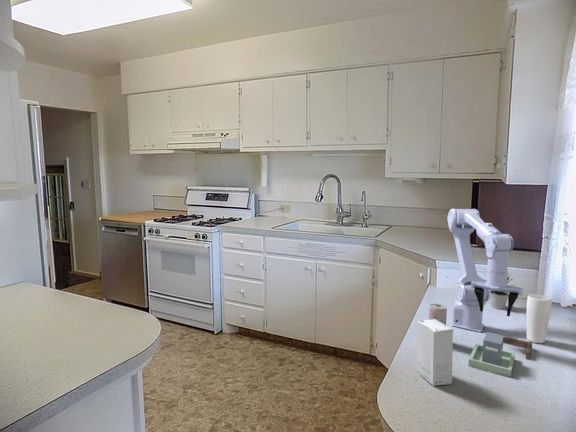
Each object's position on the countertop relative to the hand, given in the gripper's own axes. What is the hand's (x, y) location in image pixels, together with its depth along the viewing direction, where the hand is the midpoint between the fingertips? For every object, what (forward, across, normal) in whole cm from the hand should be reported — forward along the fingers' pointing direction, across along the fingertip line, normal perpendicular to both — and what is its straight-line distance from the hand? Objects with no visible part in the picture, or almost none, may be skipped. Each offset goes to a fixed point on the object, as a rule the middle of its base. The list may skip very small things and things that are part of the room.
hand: (494, 313), depth 124 cm
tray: (+11, +1, -14) cm, 18 cm away
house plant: (+9, -4, +43) cm, 44 cm away
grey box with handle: (+10, +1, -14) cm, 17 cm away
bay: (+10, +4, -1) cm, 11 cm away
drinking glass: (+10, +11, +12) cm, 19 cm away
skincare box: (+11, -11, -33) cm, 37 cm away
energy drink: (+11, -16, -9) cm, 21 cm away
